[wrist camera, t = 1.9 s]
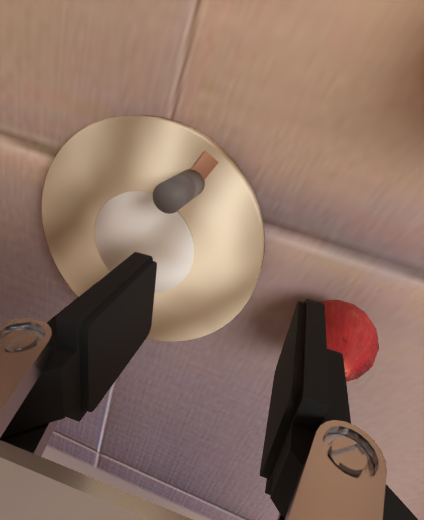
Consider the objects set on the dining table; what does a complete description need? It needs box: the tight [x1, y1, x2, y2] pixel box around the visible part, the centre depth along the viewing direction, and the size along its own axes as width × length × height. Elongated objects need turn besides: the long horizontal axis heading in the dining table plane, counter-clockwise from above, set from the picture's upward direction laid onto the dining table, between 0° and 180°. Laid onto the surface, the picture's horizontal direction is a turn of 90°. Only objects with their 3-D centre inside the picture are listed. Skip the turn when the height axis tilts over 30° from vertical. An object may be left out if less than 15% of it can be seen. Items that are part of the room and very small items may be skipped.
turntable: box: [42, 115, 265, 341], centre depth 27 cm, size 20×20×6 cm
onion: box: [321, 300, 379, 381], centre depth 25 cm, size 6×6×8 cm
